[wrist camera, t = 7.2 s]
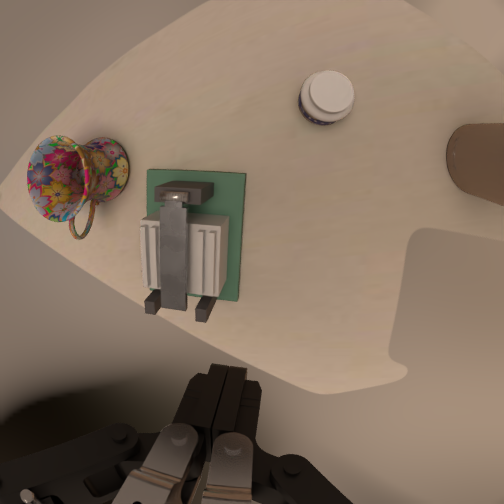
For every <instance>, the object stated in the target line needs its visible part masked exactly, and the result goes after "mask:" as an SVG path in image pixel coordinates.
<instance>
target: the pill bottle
mask: <svg viewBox="0 0 504 504" xmlns="http://www.w3.org/2000/svg"><path fill="white" fill-rule="evenodd" d="M298 105H299V109H300V111H301V113H302V115H303V116H304V117H305V118H306V119H307V120H308V121H310V122H312V123H314V124H317V125H328V124H332V123H334V122H336V121H338V120H341V119H342V118H344V117H345V116H347V115H348V114H349V112H350V111H351V109H352V107H353V105H354V89H353V85H352V83H351V82H350V80H349V79H348V78H347V77H346V76H345V75H343V74H342V73H340V72H337V71H331V70H329V71H318V72H316V73H314V74H312V75H310V76H309V77H308V78H307V79H306V80H305V82H304V83H303V85H302V88H301V91H300V95H299V99H298Z"/></svg>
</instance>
